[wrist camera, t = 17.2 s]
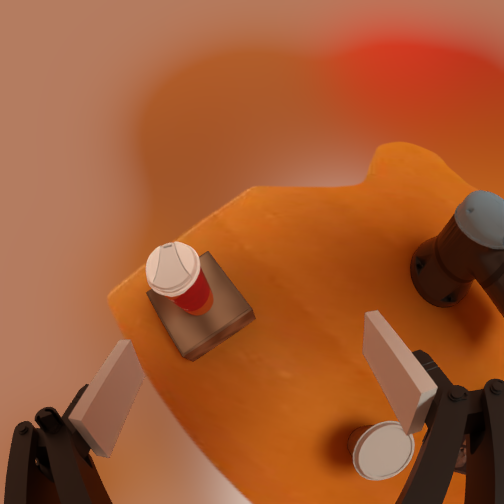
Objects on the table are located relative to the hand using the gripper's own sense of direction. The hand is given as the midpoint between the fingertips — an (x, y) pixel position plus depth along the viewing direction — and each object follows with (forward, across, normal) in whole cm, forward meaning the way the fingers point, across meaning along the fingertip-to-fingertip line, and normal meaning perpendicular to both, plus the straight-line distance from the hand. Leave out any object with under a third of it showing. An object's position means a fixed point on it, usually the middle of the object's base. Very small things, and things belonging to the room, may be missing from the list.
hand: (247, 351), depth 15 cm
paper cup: (+31, -10, -11) cm, 34 cm away
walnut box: (+36, -11, -15) cm, 40 cm away
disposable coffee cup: (+15, +15, -36) cm, 42 cm away
